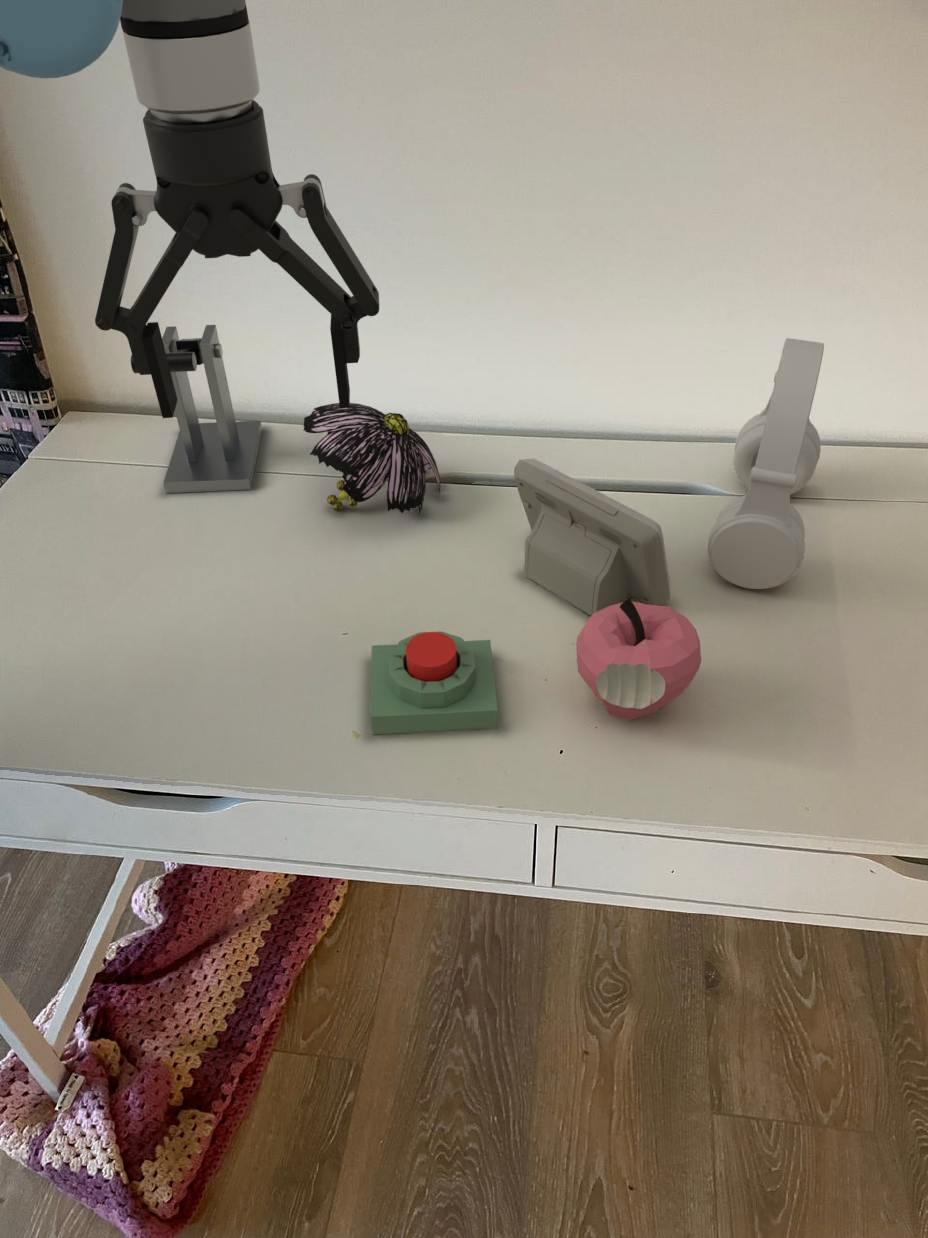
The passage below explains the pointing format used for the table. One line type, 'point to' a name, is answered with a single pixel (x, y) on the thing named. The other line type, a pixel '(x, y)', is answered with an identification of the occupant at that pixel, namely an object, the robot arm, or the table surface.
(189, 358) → the lever
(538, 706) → the table surface
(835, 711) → the table surface
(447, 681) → the button box
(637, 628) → the apple
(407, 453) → the decorative flower
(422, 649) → the button
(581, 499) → the digital clock
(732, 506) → the headphones
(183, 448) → the bracket
